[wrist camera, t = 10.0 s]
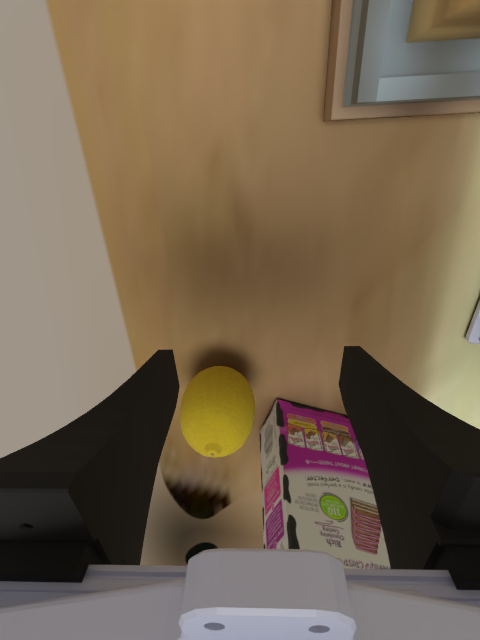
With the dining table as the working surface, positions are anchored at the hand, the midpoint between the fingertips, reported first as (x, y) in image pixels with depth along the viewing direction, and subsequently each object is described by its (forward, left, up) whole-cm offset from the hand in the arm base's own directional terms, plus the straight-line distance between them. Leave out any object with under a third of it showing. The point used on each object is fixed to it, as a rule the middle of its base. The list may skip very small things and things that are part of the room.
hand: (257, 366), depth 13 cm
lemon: (+3, +9, -11) cm, 14 cm away
